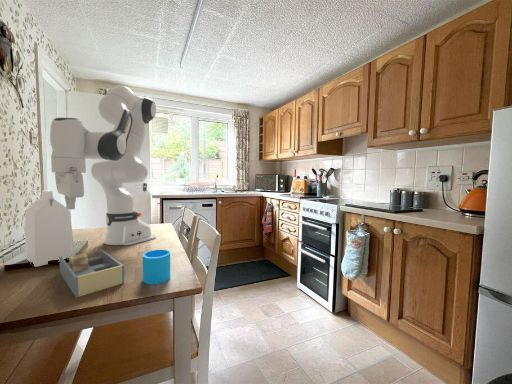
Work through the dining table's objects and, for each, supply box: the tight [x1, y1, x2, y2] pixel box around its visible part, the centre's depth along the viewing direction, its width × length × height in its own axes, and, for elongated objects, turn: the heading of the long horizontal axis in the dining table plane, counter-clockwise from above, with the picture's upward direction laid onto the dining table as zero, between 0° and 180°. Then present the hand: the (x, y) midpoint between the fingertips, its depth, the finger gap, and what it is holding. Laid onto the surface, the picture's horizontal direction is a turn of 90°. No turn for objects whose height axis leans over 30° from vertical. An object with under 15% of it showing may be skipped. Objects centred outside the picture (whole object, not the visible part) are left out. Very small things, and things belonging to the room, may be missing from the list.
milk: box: [24, 189, 75, 268], centre depth 90 cm, size 12×12×26 cm
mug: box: [142, 249, 171, 285], centre depth 77 cm, size 12×8×8 cm
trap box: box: [58, 248, 125, 298], centre depth 75 cm, size 12×22×6 cm, turn 48°
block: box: [68, 252, 89, 272], centre depth 75 cm, size 4×4×4 cm
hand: (70, 209), depth 79 cm, fingers closed
